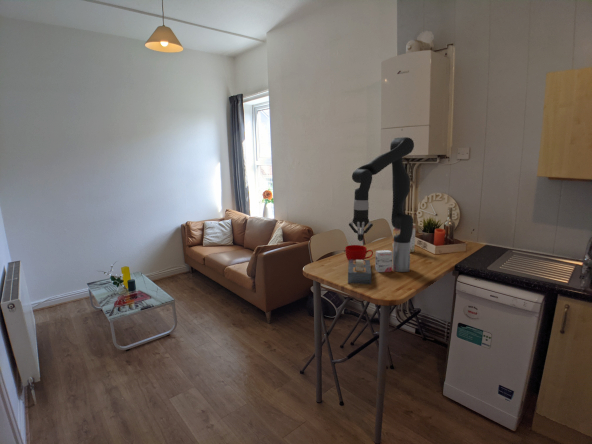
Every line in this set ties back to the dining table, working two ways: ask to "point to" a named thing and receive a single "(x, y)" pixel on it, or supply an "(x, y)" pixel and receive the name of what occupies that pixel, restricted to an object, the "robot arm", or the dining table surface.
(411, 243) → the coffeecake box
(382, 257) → the ink box
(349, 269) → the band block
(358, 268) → the grey rectangular block
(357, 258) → the ceramic cup
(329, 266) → the dining table surface
